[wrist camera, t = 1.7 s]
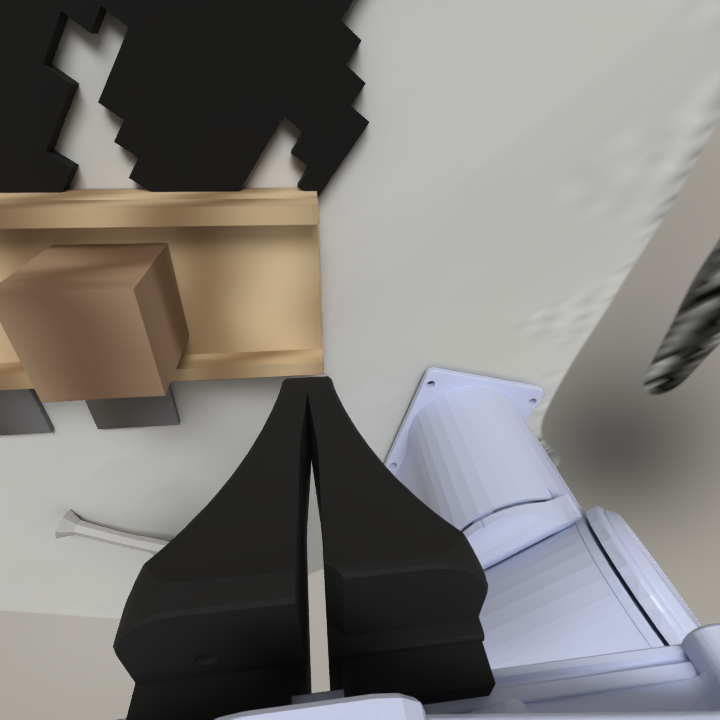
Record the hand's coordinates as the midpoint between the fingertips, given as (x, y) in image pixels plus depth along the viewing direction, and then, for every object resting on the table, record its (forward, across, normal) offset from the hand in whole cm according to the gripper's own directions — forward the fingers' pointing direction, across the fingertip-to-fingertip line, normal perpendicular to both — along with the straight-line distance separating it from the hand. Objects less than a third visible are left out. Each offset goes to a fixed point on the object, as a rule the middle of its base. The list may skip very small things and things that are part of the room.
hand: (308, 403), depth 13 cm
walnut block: (+8, +8, 0) cm, 11 cm away
